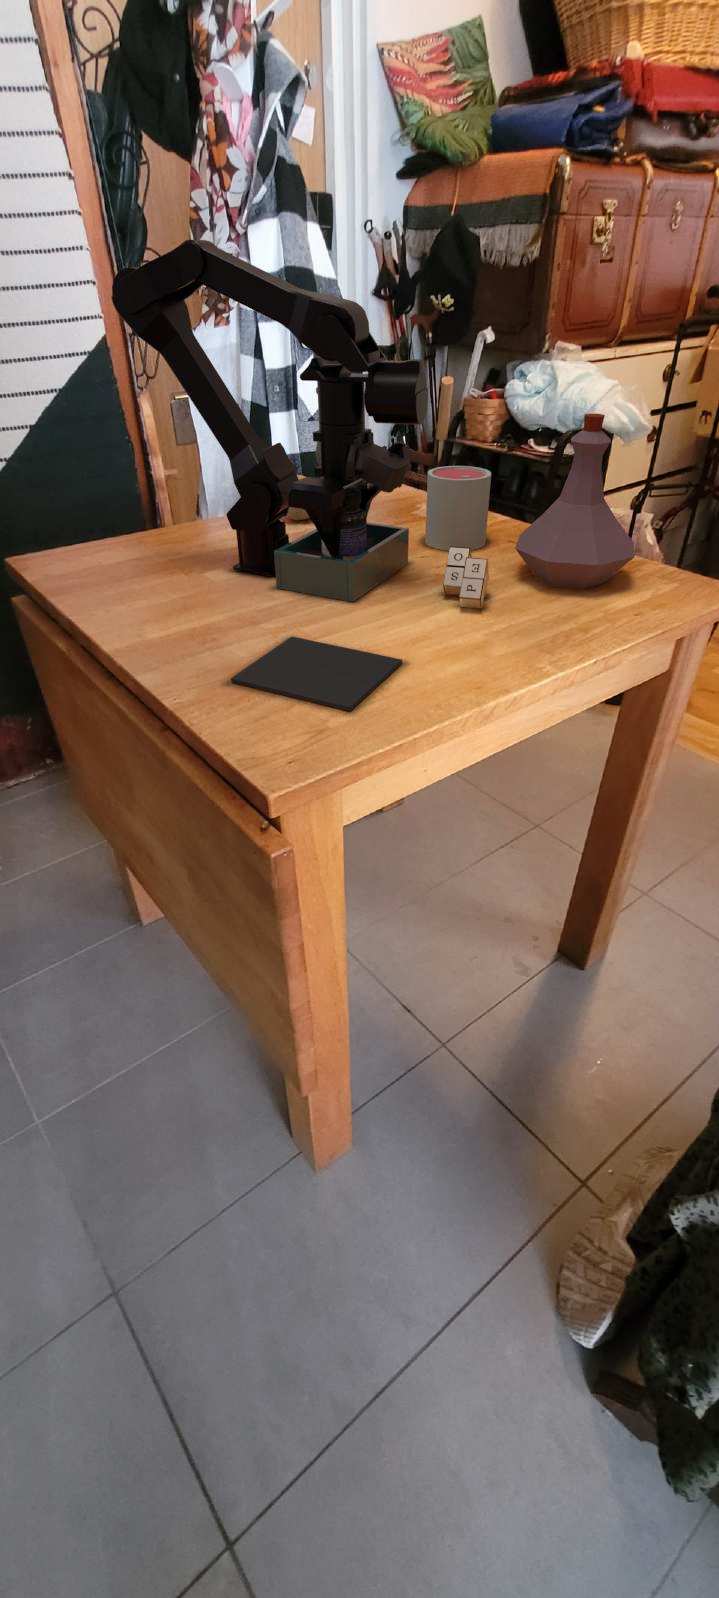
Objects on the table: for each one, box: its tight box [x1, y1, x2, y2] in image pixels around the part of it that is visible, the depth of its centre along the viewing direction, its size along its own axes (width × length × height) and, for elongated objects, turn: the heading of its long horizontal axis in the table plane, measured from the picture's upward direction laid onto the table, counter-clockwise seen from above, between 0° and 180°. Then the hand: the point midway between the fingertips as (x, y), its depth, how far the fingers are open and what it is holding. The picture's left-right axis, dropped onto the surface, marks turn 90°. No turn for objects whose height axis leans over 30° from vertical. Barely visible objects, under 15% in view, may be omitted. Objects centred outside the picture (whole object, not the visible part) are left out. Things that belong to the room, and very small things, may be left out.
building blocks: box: [442, 546, 490, 609], centre depth 97 cm, size 5×5×8 cm
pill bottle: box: [322, 488, 368, 561], centre depth 103 cm, size 6×6×11 cm
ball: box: [286, 474, 310, 521], centre depth 127 cm, size 7×7×7 cm
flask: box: [514, 412, 636, 590], centre depth 99 cm, size 16×16×20 cm
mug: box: [424, 465, 492, 552], centre depth 117 cm, size 14×9×10 cm
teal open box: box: [274, 522, 410, 603], centre depth 104 cm, size 12×17×5 cm
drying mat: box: [230, 636, 403, 712], centre depth 81 cm, size 14×12×1 cm
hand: (345, 548), depth 104 cm, fingers closed on pill bottle, 6 cm apart
